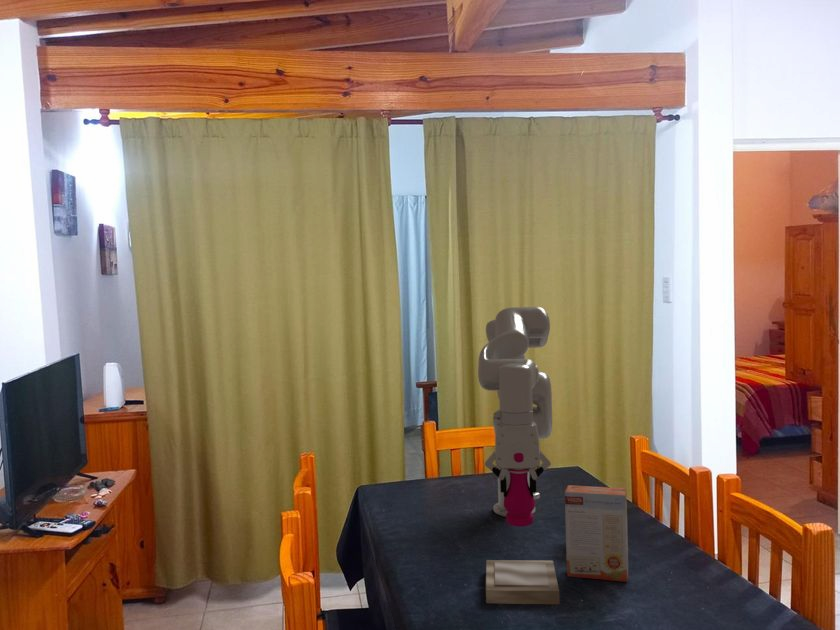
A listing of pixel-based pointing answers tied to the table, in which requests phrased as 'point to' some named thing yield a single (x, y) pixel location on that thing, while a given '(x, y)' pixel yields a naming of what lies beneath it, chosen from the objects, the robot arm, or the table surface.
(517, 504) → the pepper mill
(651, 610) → the table surface
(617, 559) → the cracker box
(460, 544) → the table surface
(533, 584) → the birch plinth
